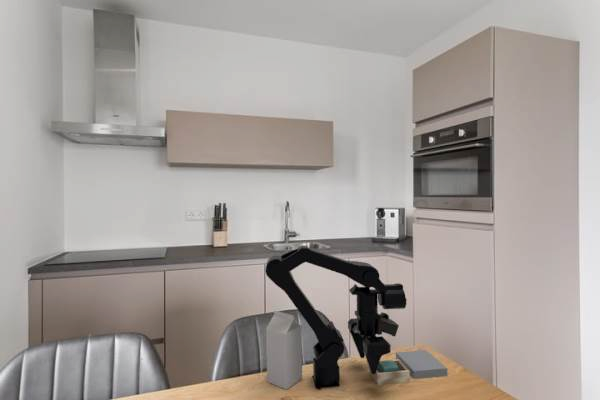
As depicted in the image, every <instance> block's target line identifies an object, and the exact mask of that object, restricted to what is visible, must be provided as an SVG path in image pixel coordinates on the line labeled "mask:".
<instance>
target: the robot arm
mask: <svg viewBox="0 0 600 400" xmlns="http://www.w3.org/2000/svg"><path fill="white" fill-rule="evenodd" d="M304 263H308V264H310V265H313V266H317V267H319V268H323V269H326V270H328V271H332V272H335V273H338V274H341V275H343V276H345V277H347V278H349V279H351V280H353V281H354V282H356V283H357V284H359V285H361V286H358V285H357V284H356V283H354V285H353V286H352V287H350V288H349V289H348V291H349V293H350V294H351V295H353V296H356V310H354V316H355V318H350V319H349V320H348V321H347V329H348V331H349V333H350V336H351V338H352V341H353V343H354V345H355V347H356V350H357V352H358V355H359V357H360V358H361V359H364V358H365V359H366V362H367V365H368V368H370V371H371V373H372V374H375V373H376V371H377V368H378V364H379V361H381V358H382V357H383V356H384V355H388V354H390V353H391V349H392V348H391V343H389V341H387V339H386V338H384V336H381V335H383V333H384V334H386V335H387V334H388V335H391V336H392V337H396V335H397V333H398V329H399V324H398V323H397V322H395V321H394V320H392V319H391V318H390V316H389V314H387V313H385V312H383V311H382V312H381V313H380V314H379V313H378V311H379V310H378V307H379V306H381V307H382V309H383V310H402V309H403V310H405V309H406V307H407V297H406V293H405V290H404V285H403V284H402V283H393V284H392V283H390V284H389V283H388V284H387V283H386V284H385V283H383V282H382V280H381V279H380V273H379V271H378V269H377V268H376V267H374V266H373V265H372V264H370V263H369V262H365V261H359V260H358V261H355V260H345V259H344V258H343V259H342V258H340V257H337V256H335V255H330V254H328V253H325V252H323V251H320V250H316V249H314V248H312V247H309V246H307V245H301V246H298V247H297V248H295V249H293V250H290V251H288V252H286V253H283V254H281V255H273V256H271V257H269V258H268V259H267V261H266V265H265V274H266V277H267V278H268V279H269V280H270V281H272V282H273V284H275V285H276V286H277V287H278V288H280V289H281V290H282V291H283V292H284V293H285V294H286V296H287V297H288V298H289V299H290V301H291V302H292V303H293V305H294V307H296V309H297V310H298V312H299V313H300V314H301V316H302V317H303V319H304V320H305V321H306V323H307V324H308V326H309V327H310V329H311V330H312V331H313V332H314V335H315V337H316V339H317V343H315V344H314V345H313V347H312V349H313V353H314V357H312V363H313V364H312V366H313V367H312V370H313V372H312V373H313V375H312V376H311V379H312V381H313V384H314V387H315V389H316V390H321V389H326V388H337V387H340V383H339V382H340V381H341V380H340V377H341V375H340V366H339V363H338V362H339V359H340V358H341V357H342V356H343V354H344V351H345V345H344V343H343V342H344V341H345V340H344V338H343V336H342V334H341V331H340V330H338V329H337V327H336V326H335V325H334V324H335V323H334V322H333V320H331V321H330V322H329V323H328V322H326V321H325V320H324V319H323V318H322V316H321V314H319V312H318V310H317V309H316V308H315V307H314V305H313V304H312V303H311V301H310V299H309V298H308V297H307V296H306V294H305V293H304V292H303V290H302V289H301V288H300V286H299V284H298V283H297V282H296V280H295V278H294V276H293V274H292V273H293V272H291V271H293V270H295V269H297V268H298V267H300V266H301V265H302V264H304ZM371 288H372V289H371ZM378 305H379V306H378ZM376 335H378V336H376Z"/></svg>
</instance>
